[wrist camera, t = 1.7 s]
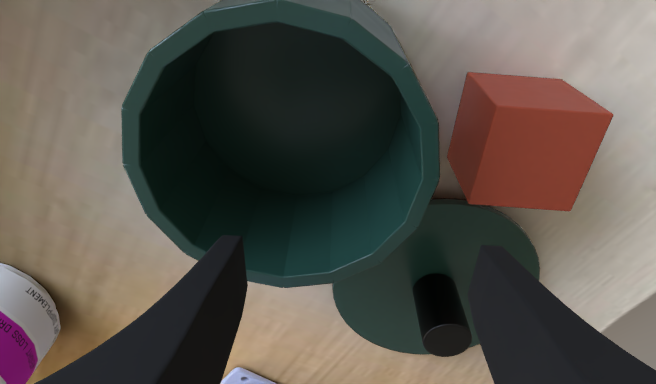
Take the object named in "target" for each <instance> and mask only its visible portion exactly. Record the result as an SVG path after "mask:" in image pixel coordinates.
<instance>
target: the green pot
mask: <svg viewBox="0 0 656 384" xmlns="http://www.w3.org/2000/svg"><path fill="white" fill-rule="evenodd" d="M122 157H123V166H124V169H125V171H126V173H127V175H128V177H129V179H130V181H131V184H132V186H133V188H134V190H135V192H136V194H137V197H138V199H139V201H140V203H141V205H142V207H143V210H144V212H145V214H147V216H148V217H149V218H150V219H151V220H152V221H153V222H154V223H155V224H156V225H157V226H158V227H159V228H160V229H161V230H162V231H163V232H164V233H165V234H166V235H167V236H168V237H169V238H170V239H171V240H172V241H173V242H174V243H175V244H176V245H177V246H178V247H179V248H180V249H181V250H182V251H183V252H184V253H185V254H186V255H188V256H190V257H192V258H194V259H196V260H198V261H199V260H200V259H201V258H202V257H203V256H204V255H205V253H206V252H207V251H208V250H209V249H210V248H211V247H212V246H213V244H214V243H215V242H216V241H217V240H218V239H219V238H220V237H221V236H222V235H233V236H243V245H244V255H245V265H246V275H247V281H249V282H255V283H260V284H265V285H270V286H275V287H280V288H283V287H284V288H290V287H300V286H310V285H320V284H331V283H334V282H335V283H337V282H339V281H341V280H344V279H346V278H348V277H350V276H353V275H355V274H357V273H360V272H362V271H364V270H367V269H369V268H371V267H374V266H376V265H378V264H380V263H381V262H383V261H384V260H385V259H386V258H387V257H388V256H389V255H390V254H391V253H392V252H393V251H395V250H396V249H397V248H398V247H399V246H400V245H401V244H402V243H403V242H404V241H405V240H406V239H407V238H408V237H409V236H410V235H411V234H412V233H414V232H415V231H416V230H417V228H418V227H419V225H420V223H421V221H422V219H423V216H424V214H425V212H426V209H427V207H428V205H429V203H430V200H431V198H432V196H433V193H434V191H435V189H436V187H437V184H438V182H439V178H440V160H439V123H438V119H437V117H436V115H435V113H434V111H433V109H432V107H431V105H430V103H429V101H428V99H427V97H426V95H425V93H424V91H423V89H422V87H421V85H420V83H419V82H418V80H417V78H416V76H415V74H414V72H413V70H412V68H411V66H410V64H409V62H408V60H407V58H406V56H405V54H404V52H403V50H402V48H401V46H400V44H399V42H398V40H397V38H396V36H395V34H394V32H393V30H392V28H391V26H390V25H389V24H388V23H387V22H386V21H385V20H383V19H382V18H381V17H380V16H378V15H377V14H376V13H375V12H374V11H373V10H372V9H371V8H370V7H369V6H367V5H366V4H365V3H363V2H362V1H360V0H221V1H220V2H218V3H216V4H214V5H213V6H211V7H209V8H208V9H206V10H204V11H202V12H201V13H199V14H198V15H197V16H195V17H194V18H193V19H191V20H190V21H188V22H187V23H186V24H184V25H183V26H182V27H180V28H179V29H178V30H176V31H175V32H173V33H172V34H171V35H169V36H168V37H167V38H165V39H164V40H162V41H161V42H160V43H158V44H157V45H156V46H154V47H153V48H152V49H150V50H149V52H148V53H147V55H146V57H145V59H144V61H143V63H142V65H141V67H140V69H139V71H138V73H137V75H136V77H135V79H134V81H133V84H132V86H131V88H130V90H129V92H128V94H127V96H126V98H125V100H124V102H123V104H122Z"/></svg>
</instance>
